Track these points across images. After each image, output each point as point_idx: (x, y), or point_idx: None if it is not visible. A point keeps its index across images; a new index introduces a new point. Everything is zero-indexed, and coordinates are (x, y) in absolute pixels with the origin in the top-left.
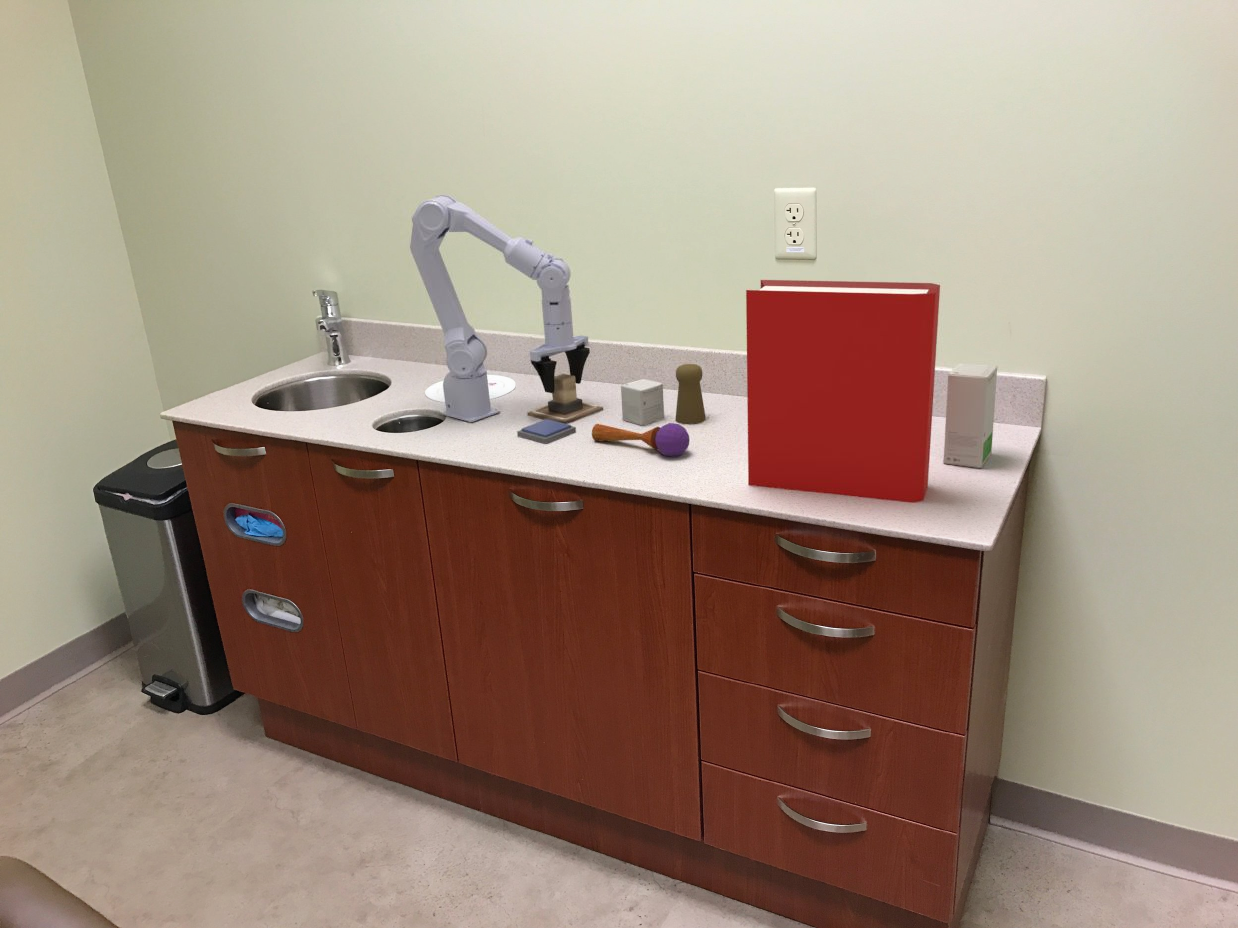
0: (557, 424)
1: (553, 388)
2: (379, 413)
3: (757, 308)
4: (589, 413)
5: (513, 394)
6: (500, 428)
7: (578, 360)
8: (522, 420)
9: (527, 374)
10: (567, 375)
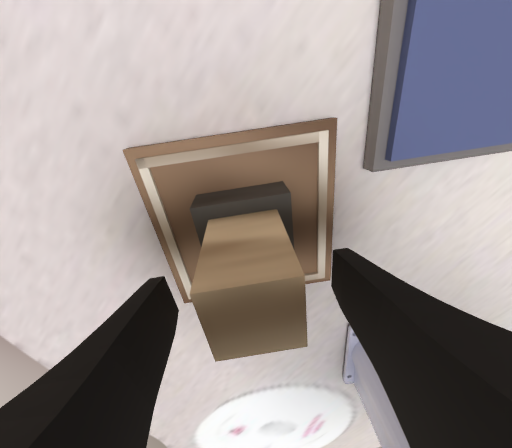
0: (432, 59)
1: (353, 257)
2: None
3: None
4: (202, 137)
5: (247, 384)
6: (441, 241)
7: (76, 435)
8: (365, 252)
9: (158, 439)
10: (217, 329)
